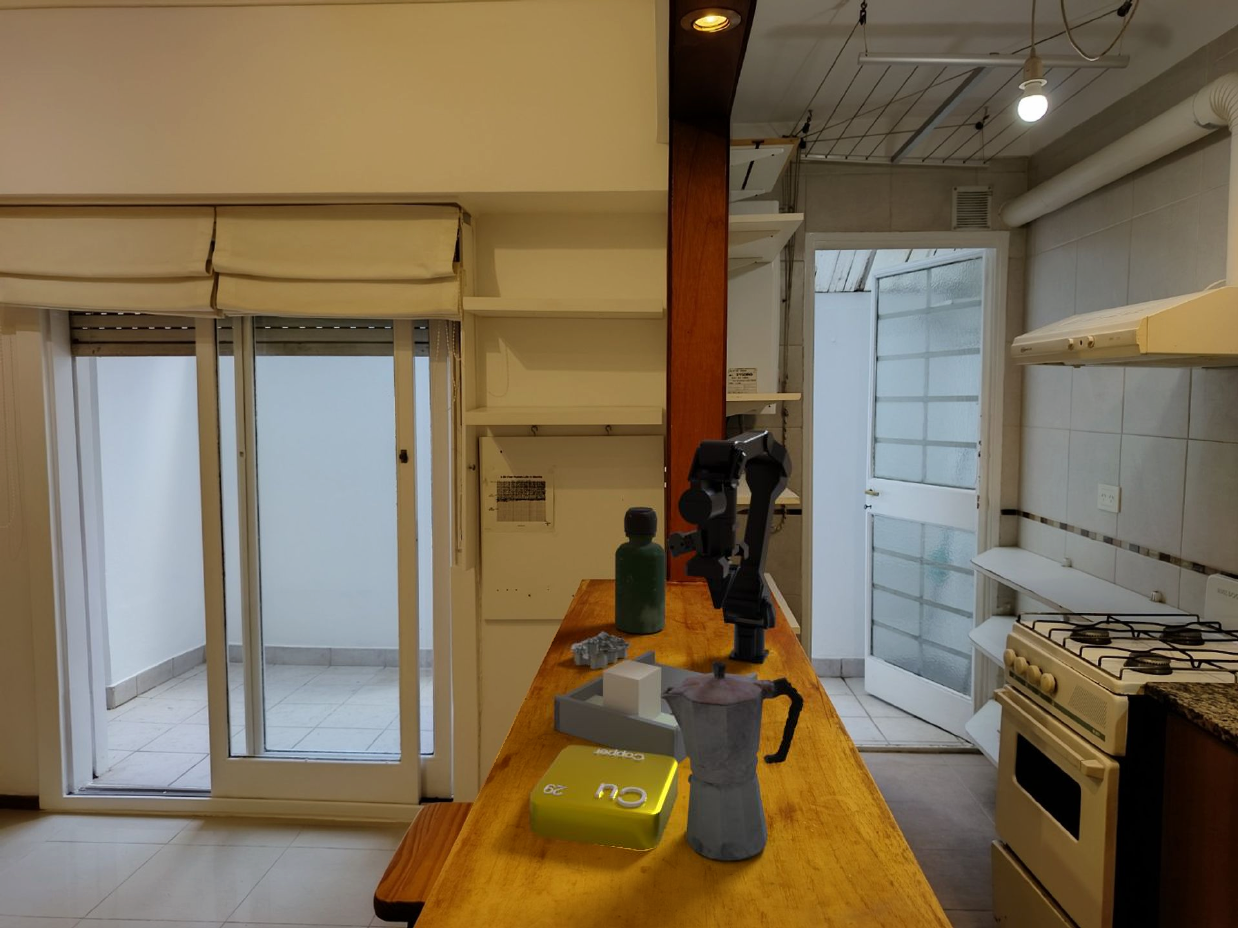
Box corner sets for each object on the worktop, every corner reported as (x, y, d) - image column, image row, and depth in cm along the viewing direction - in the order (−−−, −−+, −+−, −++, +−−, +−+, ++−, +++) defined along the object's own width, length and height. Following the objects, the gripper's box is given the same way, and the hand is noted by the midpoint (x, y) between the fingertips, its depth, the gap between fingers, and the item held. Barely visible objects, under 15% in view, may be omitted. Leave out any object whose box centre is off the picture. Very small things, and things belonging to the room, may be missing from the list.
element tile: (680, 788, 97) (681, 751, 97) (656, 857, 83) (656, 814, 82) (566, 773, 101) (566, 738, 101) (524, 837, 87) (523, 795, 86)
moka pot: (654, 817, 90) (655, 648, 88) (784, 812, 91) (789, 645, 89) (666, 867, 80) (667, 679, 79) (811, 861, 82) (816, 675, 80)
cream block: (626, 705, 116) (626, 659, 115) (660, 714, 113) (661, 667, 112) (602, 718, 111) (603, 671, 110) (638, 729, 108) (638, 679, 107)
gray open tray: (649, 675, 135) (650, 647, 135) (756, 701, 124) (757, 670, 124) (554, 729, 113) (554, 696, 113) (674, 766, 102) (674, 729, 102)
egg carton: (598, 673, 137) (598, 650, 137) (566, 664, 142) (566, 642, 141) (634, 656, 146) (634, 635, 145) (603, 648, 150) (603, 627, 150)
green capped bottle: (674, 629, 162) (676, 510, 159) (634, 638, 156) (634, 514, 153) (645, 617, 170) (646, 503, 168) (605, 625, 164) (605, 507, 162)
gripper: (688, 505, 140) (687, 590, 142) (654, 521, 123) (653, 618, 124) (749, 509, 136) (748, 597, 138) (723, 526, 119) (721, 626, 120)
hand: (717, 608), depth 130 cm, fingers closed
